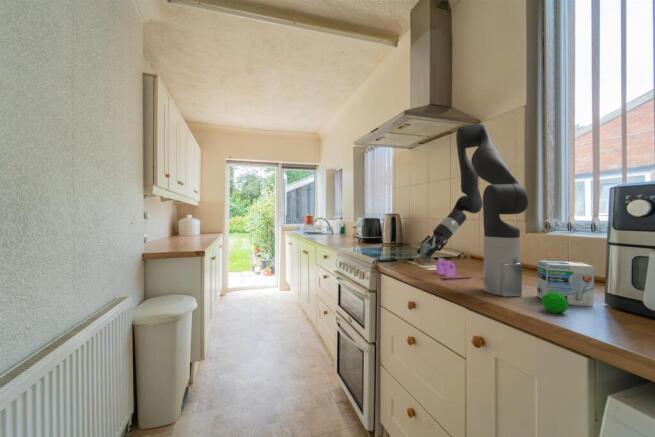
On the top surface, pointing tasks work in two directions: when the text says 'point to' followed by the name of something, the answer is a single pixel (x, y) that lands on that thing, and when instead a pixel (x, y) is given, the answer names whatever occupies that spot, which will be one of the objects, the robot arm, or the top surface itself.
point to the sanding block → (425, 256)
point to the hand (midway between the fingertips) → (422, 254)
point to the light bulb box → (567, 281)
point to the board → (424, 266)
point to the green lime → (555, 302)
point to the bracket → (447, 269)
